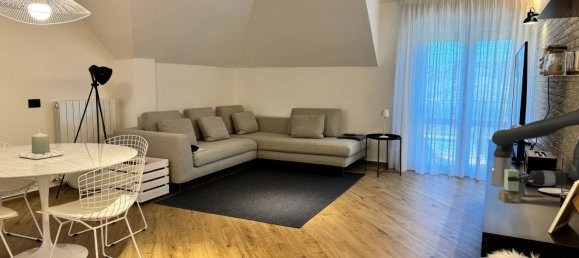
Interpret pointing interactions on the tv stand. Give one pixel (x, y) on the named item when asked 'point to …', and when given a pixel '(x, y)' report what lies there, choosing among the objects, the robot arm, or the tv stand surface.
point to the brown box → (510, 196)
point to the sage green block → (511, 184)
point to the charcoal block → (522, 189)
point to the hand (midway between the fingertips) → (506, 177)
